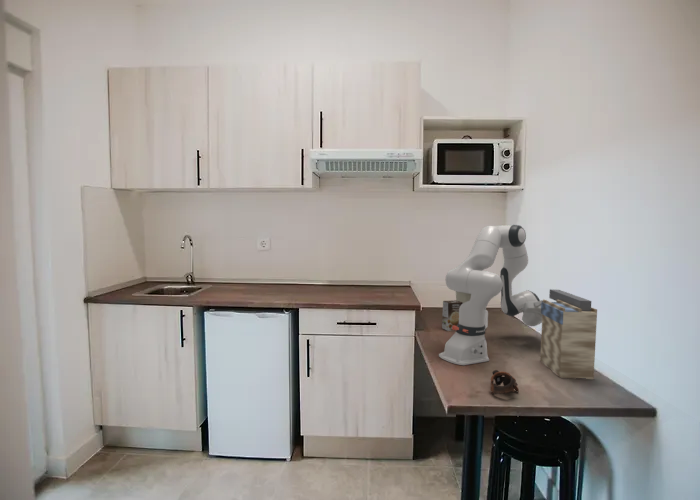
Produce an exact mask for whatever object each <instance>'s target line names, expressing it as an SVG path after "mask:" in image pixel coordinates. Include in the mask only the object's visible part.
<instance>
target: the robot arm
mask: <svg viewBox="0 0 700 500" xmlns="http://www.w3.org/2000/svg"><path fill="white" fill-rule="evenodd" d="M526 238H527V232H526V230H525V228H524V227H522V226H521V225H518V224H512V225H511V224H510V225H509V224H507V225H505V224H504V225H503V224H502V225H486V226H484V227H482V229H481V230H480V232H479V233H478V235H477V236H476V238H475V241H474V243H473V246H472V248H471V250H470V252H469V254H468V255H467V257H466V259H465V260H464V261H463V262H461V264H459V265H458V266H456V267H454V268H451V269H450V270H448V272H447V273H446V274H445V285H446V287H447V288H448V289H449V290H452V291H454V292H456V291H457V292H461V293H468V294H471V298H470V301H467V302H465V303H463V304H462V305H461V306H460V308H459V323H458V325H457V326H455V325H453V326H452V329H453V330H455V332H454V333H453V335H452V336H451V337H450V338H449V339H448V340H447V341H446V343H445V345H444V351H442V352H440V353H438V357H439V358H440V359H442V360H444V361H446V362H448V363H451V364H454V365H460V366H467V365H472V364H478V363H484V362H489V361H490V358H489V356H488V347H487V346H488V345H487V340H486V337H485V334H486V329H487V328H485V325H484V321H485V310H487V306H488V304H489V303H490V301H491V300H492V299H494V298H495V297H496V296H497V295H499V294H501V296H500V308H501V310H502V312H503V314H504V315H506V316H509V317H514V316H517V315H519V314H521V313H522V316H521V321H522V322H523V324H524V325H526V326H528V327H537V326H538V325H541V324H542V314H541V302H543V299H542V300H541V299H540V298H539V297H538V295H537V294H536V293H535V292H534V291H531V290H530V289H529V290H527V289H526V290H523V291H521V292H519V293H516V294H513V290H512V289H513V288H512V282H513V281H514V279H515V278H516V277H517V276H518V275H520V273H522V272H523V271H524V270H525V269H526V268H527V267H528V265H529V256H528V252H527V247H526V244H525V242H526ZM499 248H501V249H502V254H503V265H502V268H501V270H500V271H499V272H500V275H499V274H498V273H495V272H491V271H487V269H488V268H490V267H492V266H493V264H494V263H495V261H496V257H497V255H498V252H499V250H500V249H499Z"/></svg>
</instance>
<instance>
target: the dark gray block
mask: <svg viewBox="0 0 700 500" xmlns="http://www.w3.org/2000/svg"><path fill="white" fill-rule="evenodd" d="M548 298H549V299H551V300H553V301H554V302H556V300H561V301H563V302H566V303H568V304H570V305H573V306H575V307H578V308H580V309H582V311H591V307H592V300H589V299H588V298H587V299H586V298H583V297H581V296H578V295H575V294H572V293H569V292H567V291H564V290H561V289H553V288H552V289H551V288H550V289H549V297H548Z"/></svg>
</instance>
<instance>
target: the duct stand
mask: <svg viewBox="0 0 700 500" xmlns="http://www.w3.org/2000/svg"><path fill="white" fill-rule="evenodd" d="M542 300H543V302H541V314H542V323H541V338H540V355H539V356H540V358H539V359H540V360H539V361H540V362H541V363H542V364H543V365H544V366H546V367H547V368H548V369H549V370H550V371H552V372H553V373H554V374H556V376H558V378H561V379H576V378H586V379H585V380H594V377H595V360H596V359H595V358H596V357H595V356H596V342H597V341H596V340H597V321H598V309H596V308H594V307H592V306H591V311H582V309H580V308H578V307H575V306H573V305H570V304H568V303H566V302H563V301H561V300H556V301H549V300H547V299H544V298H543V299H542Z"/></svg>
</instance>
